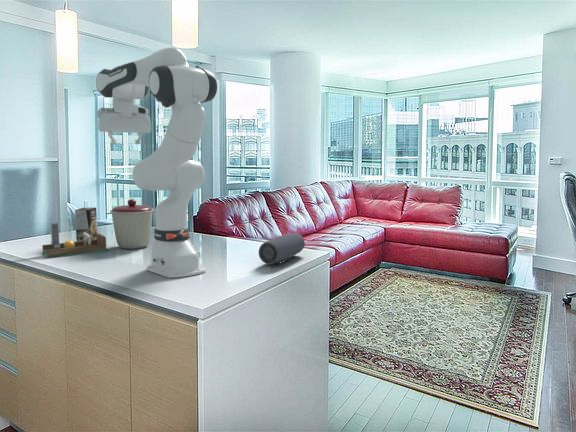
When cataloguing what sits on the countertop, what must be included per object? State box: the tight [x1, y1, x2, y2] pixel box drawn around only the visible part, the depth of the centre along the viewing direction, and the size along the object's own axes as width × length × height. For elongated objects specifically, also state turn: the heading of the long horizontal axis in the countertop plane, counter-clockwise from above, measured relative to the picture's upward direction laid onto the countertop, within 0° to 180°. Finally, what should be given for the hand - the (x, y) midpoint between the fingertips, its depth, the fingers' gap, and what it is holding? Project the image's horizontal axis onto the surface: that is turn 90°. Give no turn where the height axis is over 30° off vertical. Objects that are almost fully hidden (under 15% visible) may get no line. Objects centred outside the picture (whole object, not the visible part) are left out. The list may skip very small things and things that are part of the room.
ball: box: [63, 239, 75, 248], centre depth 182 cm, size 4×4×4 cm
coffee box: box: [74, 207, 99, 242], centre depth 199 cm, size 9×6×16 cm
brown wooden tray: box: [42, 232, 107, 259], centre depth 183 cm, size 12×22×7 cm, turn 126°
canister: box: [109, 198, 155, 250], centre depth 193 cm, size 18×18×21 cm
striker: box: [50, 222, 60, 249], centre depth 179 cm, size 8×2×11 cm, turn 36°
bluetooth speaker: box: [258, 232, 306, 265], centre depth 171 cm, size 23×9×10 cm, turn 152°
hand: (125, 144), depth 178 cm, fingers open, 8 cm apart
